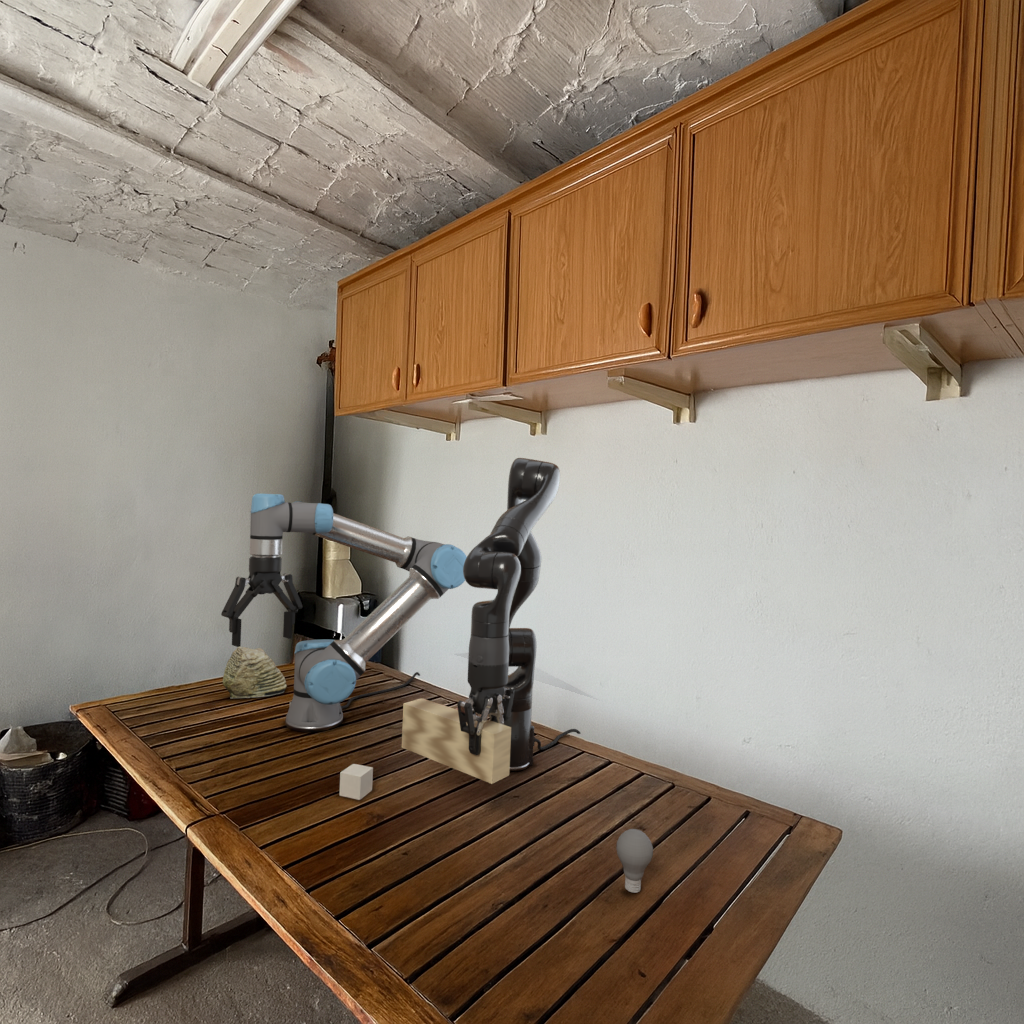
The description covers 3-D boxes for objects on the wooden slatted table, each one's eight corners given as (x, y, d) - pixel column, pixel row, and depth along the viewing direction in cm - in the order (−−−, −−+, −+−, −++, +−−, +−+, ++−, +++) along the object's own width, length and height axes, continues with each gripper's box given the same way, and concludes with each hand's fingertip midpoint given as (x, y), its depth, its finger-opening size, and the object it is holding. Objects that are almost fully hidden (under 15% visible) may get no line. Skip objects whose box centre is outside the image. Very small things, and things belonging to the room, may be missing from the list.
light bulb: (610, 879, 108) (613, 822, 108) (644, 879, 109) (647, 822, 109) (619, 902, 102) (622, 840, 102) (655, 901, 103) (658, 840, 103)
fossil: (218, 695, 195) (220, 647, 195) (278, 685, 208) (279, 640, 207) (228, 703, 189) (230, 653, 188) (289, 692, 201) (290, 645, 201)
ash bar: (401, 747, 128) (403, 703, 128) (419, 740, 132) (421, 698, 132) (491, 784, 113) (493, 734, 113) (509, 775, 117) (511, 727, 117)
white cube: (352, 785, 139) (353, 763, 139) (372, 790, 138) (373, 767, 138) (339, 795, 135) (340, 772, 135) (359, 800, 133) (360, 776, 133)
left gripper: (301, 552, 168) (298, 632, 169) (207, 556, 149) (204, 646, 149) (318, 555, 164) (315, 637, 164) (223, 559, 144) (220, 652, 145)
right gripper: (497, 648, 125) (494, 734, 126) (447, 661, 114) (443, 755, 114) (528, 655, 121) (524, 744, 121) (478, 669, 109) (474, 767, 110)
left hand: (262, 641), depth 157 cm, fingers open, 13 cm apart
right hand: (484, 749), depth 118 cm, fingers closed on ash bar, 5 cm apart
